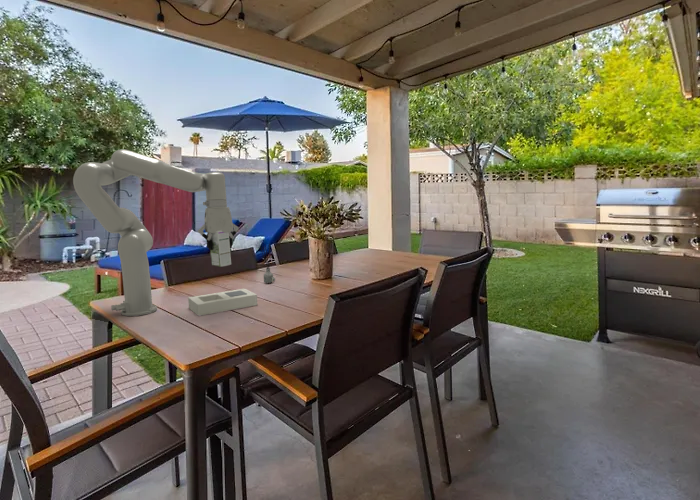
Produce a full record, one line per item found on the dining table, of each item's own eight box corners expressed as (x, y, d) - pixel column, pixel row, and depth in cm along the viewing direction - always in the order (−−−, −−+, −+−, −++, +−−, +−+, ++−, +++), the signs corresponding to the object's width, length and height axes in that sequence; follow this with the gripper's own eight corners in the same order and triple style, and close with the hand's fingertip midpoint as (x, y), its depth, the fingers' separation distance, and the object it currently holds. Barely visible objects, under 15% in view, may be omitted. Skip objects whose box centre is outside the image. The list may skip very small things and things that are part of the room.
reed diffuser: (269, 285, 207) (268, 245, 204) (256, 284, 208) (255, 245, 205) (277, 280, 216) (276, 242, 213) (265, 280, 218) (263, 242, 215)
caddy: (198, 316, 158) (197, 304, 157) (188, 308, 168) (188, 296, 168) (257, 305, 172) (256, 294, 171) (245, 298, 182) (244, 288, 182)
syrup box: (231, 264, 168) (229, 228, 166) (220, 267, 163) (217, 230, 161) (222, 263, 171) (220, 228, 169) (210, 265, 166) (207, 229, 164)
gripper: (197, 205, 155) (200, 252, 158) (241, 203, 165) (244, 247, 168) (191, 205, 162) (195, 250, 164) (234, 203, 171) (237, 245, 174)
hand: (220, 248), depth 166 cm, fingers closed on syrup box, 7 cm apart
